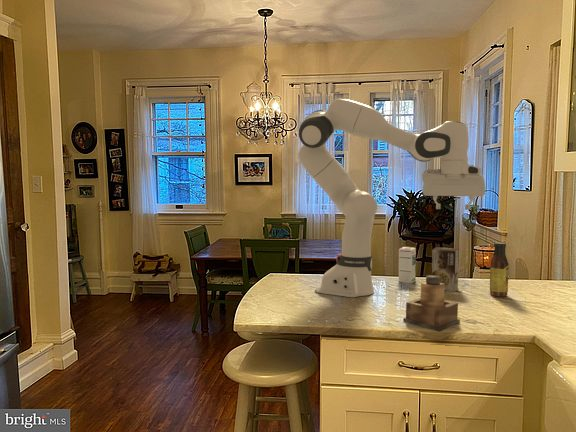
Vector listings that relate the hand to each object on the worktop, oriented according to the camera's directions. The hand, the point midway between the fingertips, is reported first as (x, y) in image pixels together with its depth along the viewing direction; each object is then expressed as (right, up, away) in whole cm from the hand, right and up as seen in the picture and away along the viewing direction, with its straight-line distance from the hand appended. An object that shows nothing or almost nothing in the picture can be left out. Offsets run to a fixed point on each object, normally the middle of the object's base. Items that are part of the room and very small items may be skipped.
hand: (452, 209), depth 154 cm
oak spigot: (-13, -34, -18) cm, 41 cm away
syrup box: (-6, -30, +35) cm, 47 cm away
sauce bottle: (+22, -32, +13) cm, 41 cm away
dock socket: (-13, -35, -18) cm, 41 cm away
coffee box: (+5, -32, +23) cm, 39 cm away
